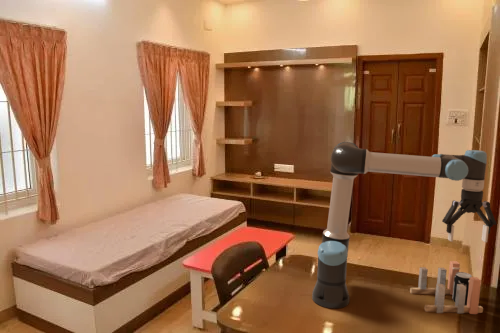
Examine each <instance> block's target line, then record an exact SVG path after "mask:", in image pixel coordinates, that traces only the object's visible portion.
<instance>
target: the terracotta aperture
mask: <svg viewBox="0 0 500 333" xmlns="http://www.w3.org/2000/svg"><path fill="white" fill-rule="evenodd" d="M460 264H461V263H460V262H458V261H457V260H449V270H448V280H447V288H449V289H450V294H449V295H450V296H451V295H452V296H453V286H454V276H455V275H456V273H457V272H460V269H461V267H460V266H461V265H460ZM468 282H469V289H468V299H467V305H466V306H468V307H469V312H468V313H469V315H478V314H479V313H478V306H479V303H480V302H479V301H480V293H481V283H482V280H481V279H480V278H479V277H477V276H472V277H470V280H469V281H468Z"/></svg>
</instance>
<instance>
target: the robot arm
mask: <svg viewBox="0 0 500 333" xmlns="http://www.w3.org/2000/svg"><path fill="white" fill-rule="evenodd" d="M487 158H488V153H487V152H486V151H484V150H478V149H477V150H476V149H467V150H465V152H464V154H462V155H461V154H443V153H440V154H439V153H437V154H436V153H435V154H433V155H431V156H425V155H413V154H412V155H411V154H410V155H409V154H401V153H400V154H397V153H389V152H388V153H384V152H373V151H369V150H368V148H360V147H358V145H356V143H353V142H349V141H343V142H340V143H338V144H337V145H335V146H334V148H333V150H332V152H331V155H330V171H329V172H330V174H331V175H332V177H333V178H332V183H331V184H332V185H331V193H330V201H329V202H330V203H329V207H328V218H327V226H326V229H324V230H323V232H322V237H321V238H322V239H321V243H320V244H319V246H318V249H317V274H316V282H315V285H314V287H313V290H312V292H311V293H312V294H311V297H312V301H313V302H314V303H315V304H316V305H318V306H321V307H324V308H328V309H341V308H345V307H347V306H348V305H349V303H350V294H349V293H350V292H349V291H348V287H347V281H346V280H347V267H348V266H347V264H348V254H349V245H350V236H351V235H350V234H349V232H348V225H349V217H350V208H351V202H352V194H353V186H354V180H355V179H356V177H358V176H359V174H362V175H365V174H367V173H368V172H370V173H381V174H382V173H383V174H393V175H394V174H396V175H404V176H405V175H407V176H418V177H419V176H420V177H430V178H431V177H432V178H439V179H440V178H441V179H449V180H451V181H455V182H457V181H462V182H461V188H462V189H461V192H460V201H457V200H454V199H453V200H452V201H451V206H450V207H449V208H448V211H447V212H446V214H445V215H444V216H443V219H442V223H443V224H445V225H446V233H447V240H448V241H449V242H452V243H453V242H454V232H455V225H454V224H456V222H457V220H459V219H460V218H461V217H462V215H465V214H466V213H467V214H470V213H473V214H475V213H476V214H477V215H478V217H479V218H480V219H481V221H482V222H483V223H484V224H483V225H482V231H481V241H482V242H483V243H488V239H489V234H491V228H493V227H494V226H495V225H497V220H496V219H495V216H494V213H493V211H492V208H491V202H489V201H487V200H484V201H483V199H484V191H483V190H485V189H484V188H485V180H486V179H485V178H486V170H487V165H488V164H487V163H488V161H487ZM458 207H459V208H458ZM482 207H483V209H484V211H485V214H486V215H485V214H484V212H483V210H482V209H481V208H482Z"/></svg>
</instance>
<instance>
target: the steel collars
mask: <svg viewBox="0 0 500 333" xmlns="http://www.w3.org/2000/svg"><path fill="white" fill-rule="evenodd" d="M446 281H447V268H445V267H438V268H437V280H436V284H435V288H436V294H434V295H435V296H434V297H435V298H434V305H435V306H436V312H435V313H436V314H444V312H443V308H444V305H445V295H446V294H445V288H446ZM427 283H428V268H427V267H426V266H425V267H424V266H422V267H421V266H420V267H419V274H418V285H417V286H418V287H417V288H420V289H426V288H427ZM465 295H466V286H464V285H463V284H457V289H456V299H455V302H454V306H456V307H457V310H456V312H455V313H456V314H465V312H464V306H466V305H465Z"/></svg>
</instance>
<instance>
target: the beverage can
mask: <svg viewBox="0 0 500 333" xmlns="http://www.w3.org/2000/svg"><path fill="white" fill-rule="evenodd" d="M470 277H473V276H472V274H470V273H467V272H464V271H459V272H457V273H456V275H455V276H454V286H453V295H452V301H453V302H454V303H455V299H456V289H457V284H463V285H464V286H466V295H465V305H464V306H467V299H468V289H469V282H468V281H469V280H470Z"/></svg>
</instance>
